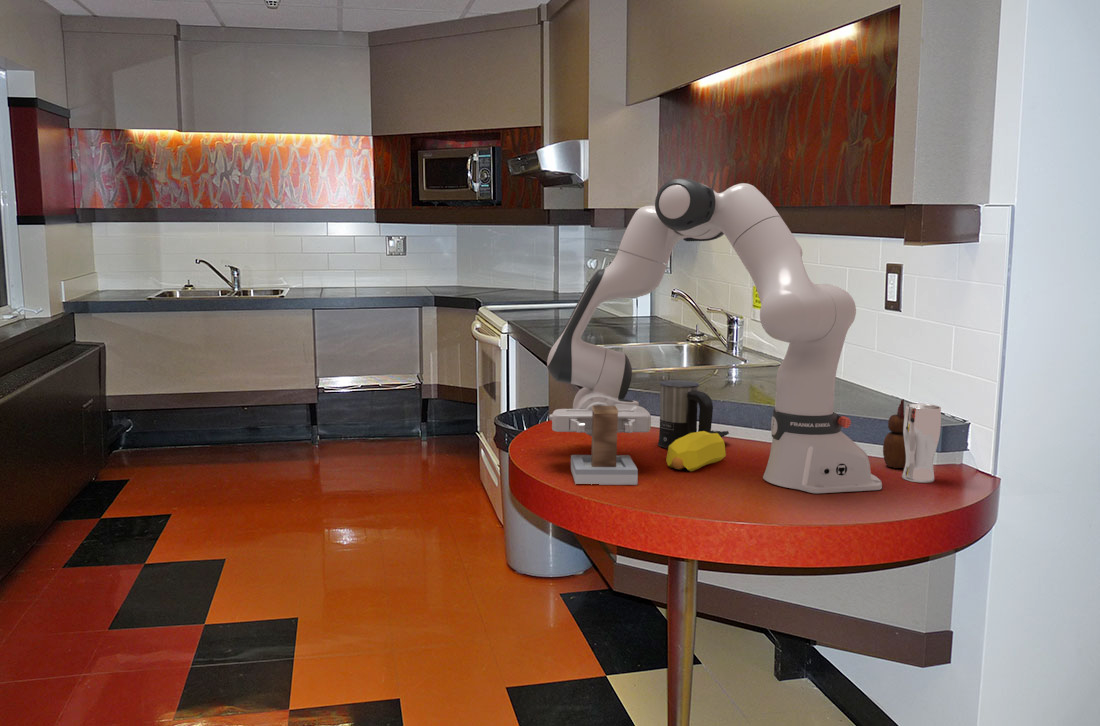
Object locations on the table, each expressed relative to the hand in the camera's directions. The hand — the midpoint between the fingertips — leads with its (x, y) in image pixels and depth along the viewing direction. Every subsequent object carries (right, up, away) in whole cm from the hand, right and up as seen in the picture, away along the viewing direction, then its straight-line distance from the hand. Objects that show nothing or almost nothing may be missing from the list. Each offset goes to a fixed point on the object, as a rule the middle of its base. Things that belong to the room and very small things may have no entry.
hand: (604, 428), depth 181 cm
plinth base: (0, -10, +2) cm, 10 cm away
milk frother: (+22, -6, +33) cm, 40 cm away
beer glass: (+64, -11, +5) cm, 65 cm away
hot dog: (+20, -9, +14) cm, 26 cm away
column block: (0, -8, +2) cm, 8 cm away
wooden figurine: (+63, -9, +15) cm, 66 cm away
